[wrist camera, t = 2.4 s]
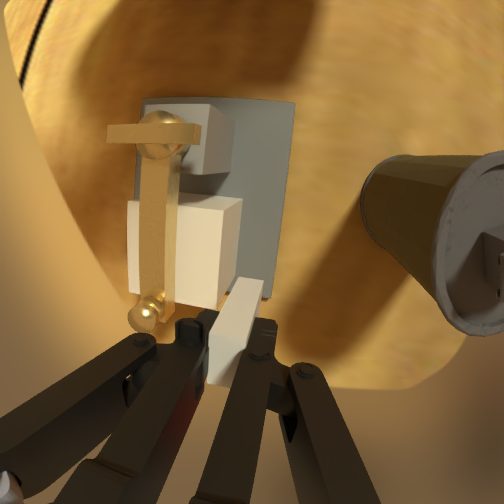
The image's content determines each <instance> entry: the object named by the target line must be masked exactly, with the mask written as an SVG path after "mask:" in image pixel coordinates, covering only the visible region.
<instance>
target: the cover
mask: <svg viewBox="0 0 504 504" xmlns="http://www.w3.org/2000/svg"><path fill="white" fill-rule="evenodd" d="M139 201H140V198H136V199H132V200H128V209H127V253H128V281H129V292H131V293H135V294H140V284H139ZM242 201H243V199H240V198H231V197H222V196H213V195H204V194H194V193H183V192H179V195H178V211H177V231H176V259H175V302H177V303H182V304H187V305H192V306H197V307H202V308H208V309H213V310H216V309H217V307H218V306H219V304H220V302H221V300H222V298H223V296H224V295H225V293H226V291H227V289H228V287H229V286H230V284H231V282H232V280H233V278H234V277H235V272H236V261H237V251H238V241H239V231H240V221H241V211H242Z"/></svg>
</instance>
